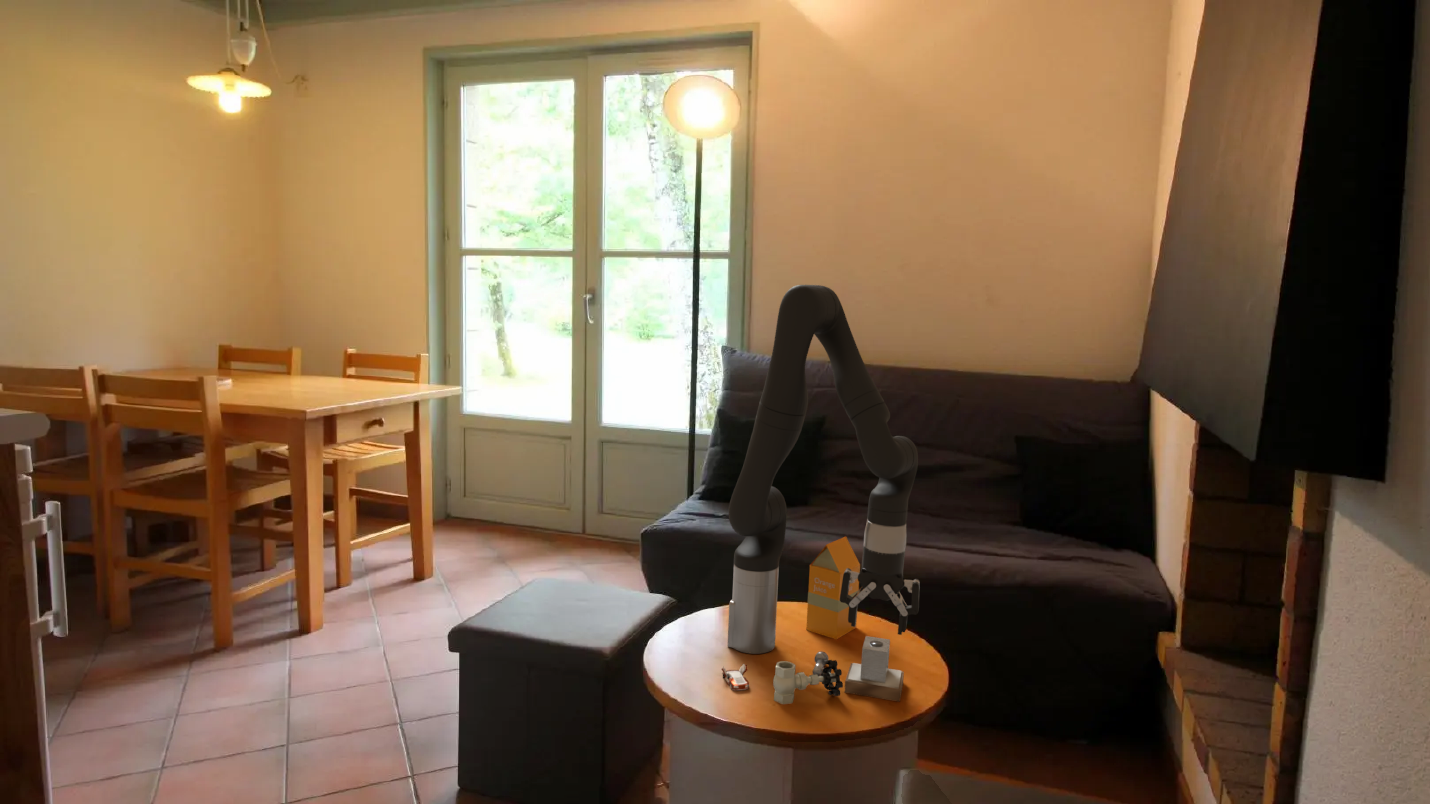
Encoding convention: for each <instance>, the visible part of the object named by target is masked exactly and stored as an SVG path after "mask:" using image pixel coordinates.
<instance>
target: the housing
mask: <svg viewBox="0 0 1430 804" xmlns="http://www.w3.org/2000/svg"><path fill="white" fill-rule="evenodd" d="M890 644H891V639H889V638H888V639H887V638H881V637H876V636H875V637H874V636H869V635H865V638H864V641H863V645H862V649H861V663H860V664H861V677H860V680H867V681H873V682H879V683H885V682H886V677H887V672H888V669H889V659H890V657H889V656H890Z"/></svg>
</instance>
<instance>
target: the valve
mask: <svg viewBox="0 0 1430 804" xmlns="http://www.w3.org/2000/svg"><path fill="white" fill-rule="evenodd" d="M838 663H839V662H838V661H837V659H835V660H832V659H828V660H826V665H828V666H826V665H825V666H824V667H823V670H822V672H821V675H820V676H818V675H813V674H809V675H806V674H805V672H804V671H803V672H802V671H801V672H797V673H796V667H797V666H796V664H795V663H793V662H791V661H787V660H785V661H784V660H781V661H777V662H776V665H775V671H774V672H775V673H774V674H775V675H774V677H773V680H772V682H773V683H772V686H773V688H774V693H773V695H774V697H773V701H774V702H776V703H778V704H780V705H788V704H793V703H794V699H795V690H796V689H798V690H799V691H803V690H806V689H807V686H809V685H810V686H812V685H819V683H821V684H822V685H823V686H824V688H825V690H827V691H828V694H829V696H833V697H840V696H841V690H840V689H842V688H843V687H844V682H843V681H842V680H841V676H842V674H843V672H842V671H843V670H842V669H840V668H838ZM832 671H833V672H832ZM834 683H835V684H834Z"/></svg>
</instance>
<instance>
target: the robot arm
mask: <svg viewBox="0 0 1430 804" xmlns="http://www.w3.org/2000/svg"><path fill="white" fill-rule="evenodd" d="M774 334H775V335H774V342H773V347H772V352H771V357H770V360H769V366H768V369H767V374H766V378H765V381H764V386H763V389H762V393H761V397H760V400H759V402H758V403H759V404H758V407H757V411H756V415H755V419H754V424H753V429H752V432H751V436H750V440H749V443H748V446H747V450H746V455H745V459H744V461H743V466H742V468H741V471H740V474H739V476H738V478H737V482H736V484H735V487H734V489H733V492H732V494H731V498H730V500H729V505H728V520H729V524H730V526H731V528H732V530H733V531H734V532H735V533H736V534H738V535H739V536H741V537H744V539H743V540H742V541H741V543H740V544H739V545H738V547H736V548H735V551H734V553H733V576H732V577H733V578H732V599H730V601H729V604H728V624H727V625H728V628H727V647H729V648H732V649H734V650H736V651H738V652H741V653H744V654H745V653H746V654H752V655H753V654H755V655H757V654H766V653H769V652H771V651H773V650H774V649H775V647H776V636H777V635H776V633H777V632H776V630H777V629H776V628H777V614H778V613H777V610H778V608H777V607H778V592H779V591H778V589H779V588H778V587H779V568H780V566H779V565H780V559H781V556H782V555H783V553H784V552H783V551H784V548H785V539H786V529H787V521H788V520H787V519H788V514H787V509H788V508H787V503H786V501H785V497H784V495H783V494H782V492H781V491H780V490H779V489H778V488H776V487H775V486H773V482H774V479H775V477H776V474H777V473H778V471H779V470H780V468H781V466H782V464H783V463H784V462H785V460H786V458H788V456H789V455H790V453H791V451H792V450H793V448H794V447H795V444H797V441H798V439H799V437H800V435H801V432H802V429H803V425H804V421H805V419H806V414H807V411H808V407H809V392H808V386H807V385H808V384H807V377H806V362H807V356H808V354H809V350H810V347H811V343H812V340H813V337H814V336H815V337H816V338H817V340H818V341H819V342H820V344H821V345H822V348H824V350H825V353H826V354H827V357H828V359H829V362H830V365H831V370H832V374H833V375H832V376H833V380H834V386H835V389H836V390H835V391H836V394H837V397H838V399H839V402H840V403H841V406H842V408H843V409H844V411H845V414H846V415H847V416H848V419H849V420H850V422H851V424H852V426H853V427H854V429H855V434H856V439H857V442H858V446H859V449H860V452H861V456H862V458H863V460H864V463H865V465H866V466H867V468H868V469H869V470H870V472H871V473H872V474H873V475H875V476H876V477H877V478H879V479H878V483H877V484H876V486H875V487H874V488H873V489H872V490H871V492H870V494H869V499H868V505H867V506H868V507H867V518H866V525H865V527H864V536H863V546H862V557H861V566H860V572H859V573H858V572H854V571H851V569H849V568H847V569H846V570H845V572H844V574H843V580H842V587H841V594H840V602H842V603H846V604H847V605H848V606H849V614H848V622H849V623H851V626H853V627H855V625H856V626H857V622H856V619H858V606H859V604H860V602H862V601H863V600H864V599H865V598H866V597H869V598H870V599H873V600H877V599H878V600H879V599H880V600H882V601H884V602H885V601H886V602H888V601H890V600H891V602H892V603H893V605H894V606H895V607H896V608H897V610H898V611H899V617H898V627H897V635H898V636H899V635H900V636H902V634H903V633H905V632H906V630H907V626H908V625H907V624H908V617H909V616H910V615H918V613H919V608H920V588H921V587H920V582H921V581H920V580H919V578H914V579H913V580H912V579H905V578H904V566H905V565H904V564H905V555H906V554H905V553H906V546H907V520H908V510H909V498H910V495H911V492H912V489H913V486H914V482H915V479H916V475H917V471H918V466H919V454H918V449H917V446H916V445H915V443H914V442H913V441H912V440H911V439H910V438H909V437H906V436H904V435H903V436H902V435H896V436H893V435H892V432H891V430H890V427H889V425H888V421H889V420H891V419H890V418H891V413H890V411H889V407H888V406H887V404H886V402H885V400H884V398H883V396H882V395H881V393H880V391H879V389H878V387H877V385H876V384H875V381H874V380H873V379H872V377H871V374H870V373H869V371H868V369H867V367H866V364H865V362H864V360H863V358H862V355H861V353H860V351H859V348H858V345H857V343H856V340H855V338H854V335H853V333H852V330H851V327H850V324H849V321H848V319H847V316H846V313H845V311H844V308H843V305H842V303H841V301H840V299H839V296H838V295H837V293H836V292H835V291H834V289H831V287H827V286H826V285H820V284H819V285H817V284H798V285H797V284H796V285H794V286H792V287H790V288H789V289H788V290H787V291H786V292H785V294H784V295H783V297H782V299H781V301H780V304H779V308H778V314H777V320H776V327H775V333H774ZM855 579H858V581H859V585H861V587H860V588H859V591H858V592H857V593H856V594H855V595H854V596H853V597H851V596H850V595H848V592H849V585H850V583H853V582H854V580H855ZM904 587H905V588H907V592H908V593H911V605H907V603H906V602H905V599H904V597H903V595H902V594H901V590H902V589H904Z"/></svg>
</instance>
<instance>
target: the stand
mask: <svg viewBox="0 0 1430 804" xmlns="http://www.w3.org/2000/svg"><path fill="white" fill-rule="evenodd" d="M904 673H905V672H904V671H903V670H901V669H894V668H893V669H892V668H888V672H887V677H886V682H885V683H879V682H873V681H867V680H860V677H861V663H855V662H853V663H850V666H849V669H848V671H847V673H846V678H845V682H844V693H847V694H852V695H859V696H863V697H864V696H865V697H870V698H876V699H883V700H888V701H894V702H900V701H901V697H902V692H903V686H904V675H905V674H904Z"/></svg>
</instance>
